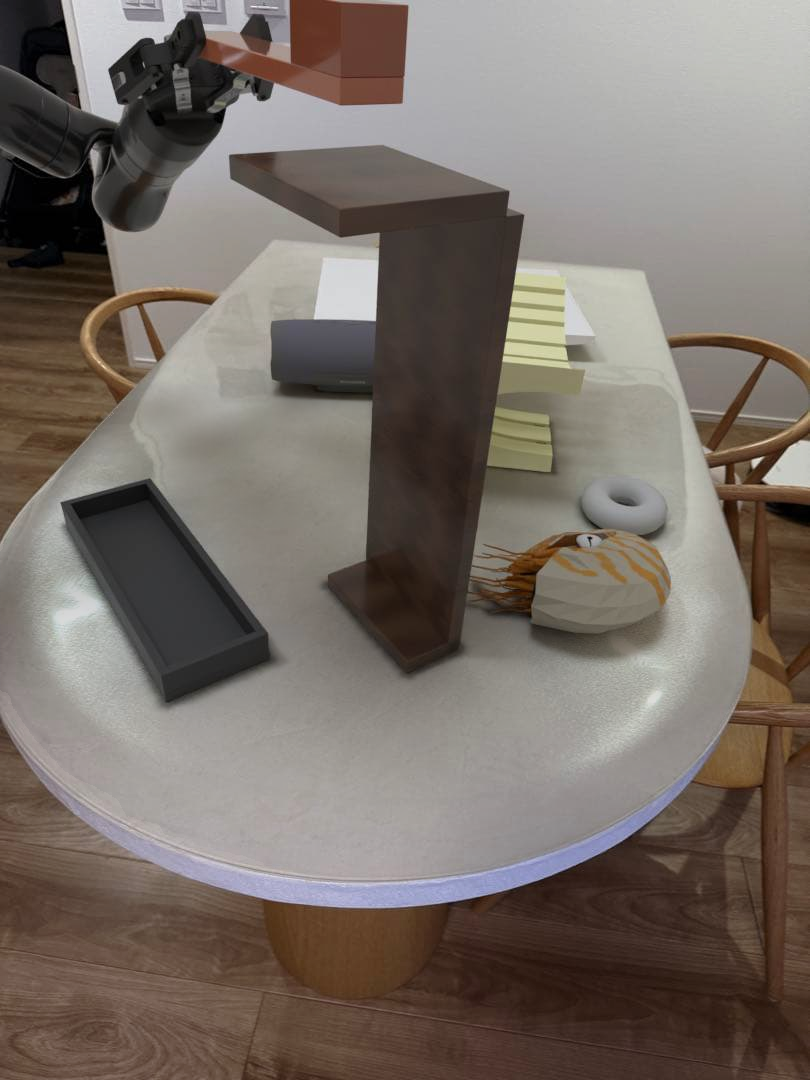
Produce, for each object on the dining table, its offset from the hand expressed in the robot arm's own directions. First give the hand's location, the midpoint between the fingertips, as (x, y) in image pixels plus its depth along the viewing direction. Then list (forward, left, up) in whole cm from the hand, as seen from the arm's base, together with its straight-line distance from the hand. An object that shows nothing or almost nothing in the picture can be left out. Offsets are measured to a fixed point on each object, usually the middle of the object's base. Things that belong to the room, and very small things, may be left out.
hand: (231, 27), depth 56 cm
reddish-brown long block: (+6, -5, -2) cm, 7 cm away
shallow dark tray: (-6, -12, -46) cm, 48 cm away
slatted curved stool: (+20, +29, -46) cm, 58 cm away
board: (+5, +69, -46) cm, 83 cm away
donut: (+38, +17, -46) cm, 62 cm away
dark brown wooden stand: (+14, -12, -46) cm, 50 cm away
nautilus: (+32, -1, -46) cm, 56 cm away
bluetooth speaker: (-2, +37, -46) cm, 59 cm away
